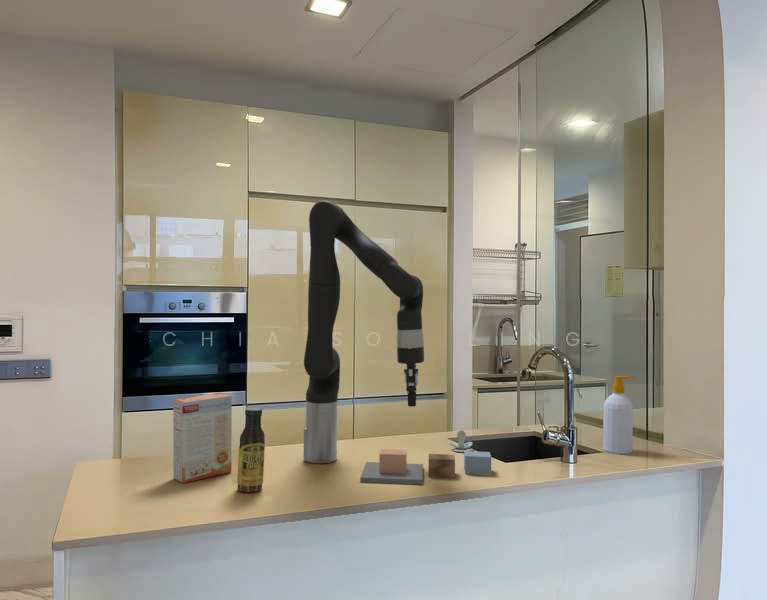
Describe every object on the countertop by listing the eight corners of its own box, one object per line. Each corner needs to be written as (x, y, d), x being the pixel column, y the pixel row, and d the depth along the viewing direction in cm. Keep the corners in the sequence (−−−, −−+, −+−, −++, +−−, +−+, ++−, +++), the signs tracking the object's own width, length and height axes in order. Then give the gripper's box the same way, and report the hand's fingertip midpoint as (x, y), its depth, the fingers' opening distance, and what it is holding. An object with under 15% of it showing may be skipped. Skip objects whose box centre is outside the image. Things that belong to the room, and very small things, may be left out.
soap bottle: (639, 454, 175) (640, 378, 175) (609, 454, 175) (610, 377, 175) (627, 447, 184) (628, 374, 184) (599, 447, 184) (600, 374, 184)
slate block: (465, 474, 153) (465, 456, 153) (464, 469, 158) (464, 451, 158) (491, 475, 153) (491, 457, 153) (489, 469, 158) (489, 452, 158)
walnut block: (428, 477, 150) (428, 458, 150) (428, 471, 155) (428, 453, 155) (454, 478, 150) (455, 459, 150) (453, 472, 155) (454, 454, 155)
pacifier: (476, 453, 176) (469, 447, 181) (477, 433, 175) (469, 428, 181) (454, 454, 174) (447, 448, 180) (455, 434, 174) (448, 429, 180)
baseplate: (360, 482, 145) (360, 458, 145) (366, 466, 159) (366, 444, 159) (422, 484, 144) (422, 460, 144) (423, 468, 158) (423, 446, 158)
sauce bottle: (240, 495, 134) (241, 412, 134) (234, 487, 140) (235, 407, 140) (267, 491, 137) (268, 410, 137) (260, 483, 143) (261, 405, 143)
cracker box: (221, 468, 156) (222, 392, 156) (232, 473, 151) (233, 395, 152) (171, 478, 146) (172, 398, 146) (181, 484, 142) (183, 401, 142)
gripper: (398, 344, 165) (399, 399, 165) (395, 347, 151) (397, 408, 151) (423, 343, 165) (425, 399, 165) (423, 347, 151) (425, 407, 150)
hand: (412, 403), depth 158 cm, fingers open, 8 cm apart
